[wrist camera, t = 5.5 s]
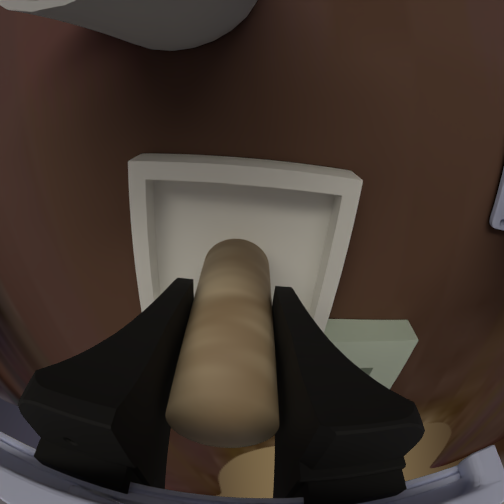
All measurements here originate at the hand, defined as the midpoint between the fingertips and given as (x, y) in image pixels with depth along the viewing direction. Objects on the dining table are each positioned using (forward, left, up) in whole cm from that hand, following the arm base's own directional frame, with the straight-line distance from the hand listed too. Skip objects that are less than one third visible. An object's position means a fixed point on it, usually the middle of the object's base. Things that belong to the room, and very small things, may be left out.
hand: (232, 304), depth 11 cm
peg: (0, 0, -3) cm, 3 cm away
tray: (0, 0, -5) cm, 5 cm away
